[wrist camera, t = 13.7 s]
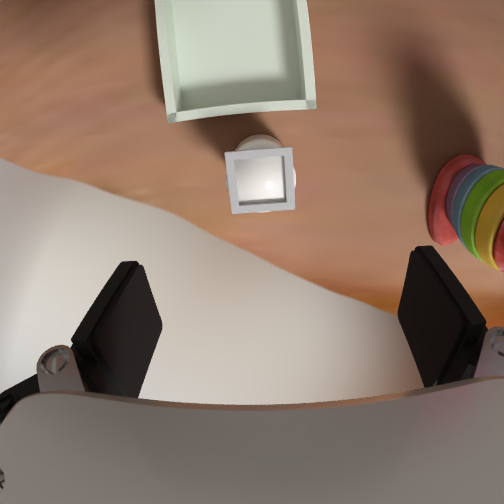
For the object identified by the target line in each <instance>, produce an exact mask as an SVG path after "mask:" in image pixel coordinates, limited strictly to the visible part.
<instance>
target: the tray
mask: <svg viewBox="0 0 504 504" xmlns="http://www.w3.org/2000/svg"><path fill="white" fill-rule="evenodd" d="M155 12H156V24H157V35H158V45H159V55H160V64H161V72H162V81H163V89H164V97H165V104H166V111H167V118H168V123H173V122H179V121H185V120H192V119H199V118H206V117H214V116H222V115H231V114H241V113H252V112H265V111H281V110H304V109H317V108H316V92H315V78H314V66H313V55H312V44H311V34H310V25H309V16H308V8H307V0H155Z"/></svg>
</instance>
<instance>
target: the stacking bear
mask: <svg viewBox="0 0 504 504" xmlns="http://www.w3.org/2000/svg"><path fill="white" fill-rule="evenodd" d="M428 223H429V231H430V235H431V238H432V239H433V240H434V241H435V242H437V243H439V244H441V245H447V244H450V243H453V242H454V241H455V240H457V239H458V238H459V239H460V241H461V242H462V244H463V245H464V246H465V247H466V248H467V250H468V251H469V252H470V253H471V254H473V255H474V256H475V257H476V258H478V259H479V260H481V261H482V262H485V263H486V264H488V265H489V266H491V267H493V268H495V269H497V270H499V271H502V272H504V168H500V167H497V166H493V165H486V164H485V163H484V162H483V161H482V160H480V159H479V158H477V157H475V156H473V155H467V154H466V155H459V156H457V157H455V158H453V159H451V160H450V161H449V162H447V163H446V164H445V166H444V167H443V168H442V169H441V171H440V172H439V174H438V176H437V178H436V181H435V184H434V187H433V190H432V193H431V198H430V203H429V212H428Z"/></svg>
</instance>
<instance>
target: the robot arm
mask: <svg viewBox="0 0 504 504" xmlns="http://www.w3.org/2000/svg"><path fill="white" fill-rule="evenodd" d="M398 319H399V322H400V324H401V327H402V329H403V332H404V334H405V337H406V339H407V341H408V344H409V347H410V349H411V352H412V354H413V357H414V360H415V362H416V365H417V368H418V370H419V373H420V376H421V379H422V381H423V384H424V387H425V388H422V389H416V390H410V391H405V392H399V393H393V394H387V395H380V396H373V397H366V398H357V399H348V400H339V401H328V402H315V403H300V404H275V405H224V404H198V403H182V402H169V401H158V400H149V399H139V398H138V396H139V393H140V390H141V387H142V384H143V382H144V379H145V376H146V373H147V370H148V367H149V364H150V362H151V358H152V356H153V353H154V350H155V348H156V345H157V342H158V339H159V336H160V334H161V331H162V320H161V317H160V315H159V312H158V309H157V306H156V303H155V300H154V297H153V295H152V292H151V288H150V285H149V282H148V280H147V276H146V273H145V270H144V267H143V266H142V265H139V263H138V262H137V261H125V262H121V263H120V264H119V265H118V267H117V268H116V270H115V271H114V273H113V274H112V276H111V277H110V279H109V280H108V281H107V283H106V284H105V286H104V287H103V289H102V290H101V292H100V293H99V295H98V297H97V298H96V300H95V301H94V303H93V304H92V306H91V307H90V309H89V311H88V312H87V314H86V315H85V317H84V318H83V320H82V322H81V323H80V325H79V327H78V328H77V330H76V332H75V333H74V335H73V337H72V338H71V341H72V343H73V344H72V346H71V348H69V347H68V346H65V345H57V346H54V347H51V348H50V349H48V350H46V351H45V352H44V353H43V354H42V355H41V357H40V358H39V360H38V362H37V374H35V375H33V376H32V377H30V378H28V379H26V380H24V381H22V382H20V383H19V384H17V385H15V386H13V387H11V388H9V389H7V390H5V391H4V392H2V393H1V394H0V504H504V327H493V328H490V329H489V330H488V329H487V327H486V326H485V324H486V320H485V318H484V317H483V315H482V314H481V312H480V311H479V309H478V308H477V306H476V305H475V303H474V302H473V300H472V299H471V297H470V296H469V294H468V293H467V292H466V290H465V289H464V287H463V286H462V284H461V283H460V282H459V280H458V279H457V278H456V276H455V275H454V273H453V272H452V271H451V269H450V268H449V267H448V265H447V264H446V263H445V261H444V260H443V259H442V258H441V256H440V255H439V254H438V252H437V251H436V250H435V249H434V247H433V246H417V247H416V248H415V250H414V251H411V253H410V258H409V263H408V268H407V273H406V278H405V282H404V287H403V291H402V296H401V300H400V304H399V308H398Z"/></svg>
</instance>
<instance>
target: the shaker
mask: <svg viewBox="0 0 504 504" xmlns="http://www.w3.org/2000/svg"><path fill="white" fill-rule="evenodd" d="M225 161H226V169H227V173H226V185H227V189H228V192H229V194H230V201H231V209H232V214H239V213H252V212H269V211H279V210H294V209H295V194H294V189H295V185H296V174H295V170H294V167H293V155H292V147H284V146H283V145H282V143H281V142H280V141H279V140H277V139H276V138H274V137H272V136H269V135H265V134H256V135H252V136H249V137H247V138H245V139H244V140H242V141H241V142H240V143H239V144H238V146H237V147H236V149H235V151H228V152H225Z"/></svg>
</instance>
